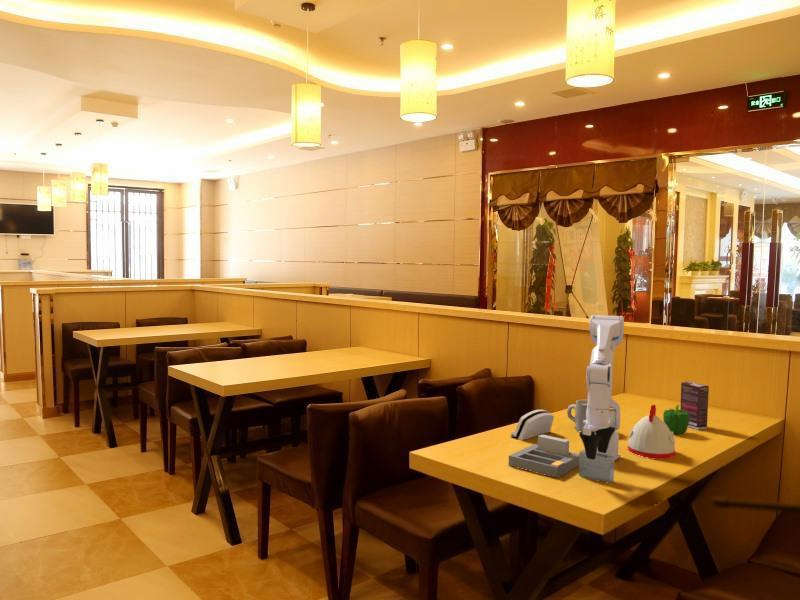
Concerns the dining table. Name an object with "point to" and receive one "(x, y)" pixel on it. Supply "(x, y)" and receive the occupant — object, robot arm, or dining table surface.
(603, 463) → the panel
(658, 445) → the chicken hat
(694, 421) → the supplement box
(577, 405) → the coffee mug
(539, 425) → the white arched block
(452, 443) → the dining table surface
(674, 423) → the bell pepper
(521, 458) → the rack
